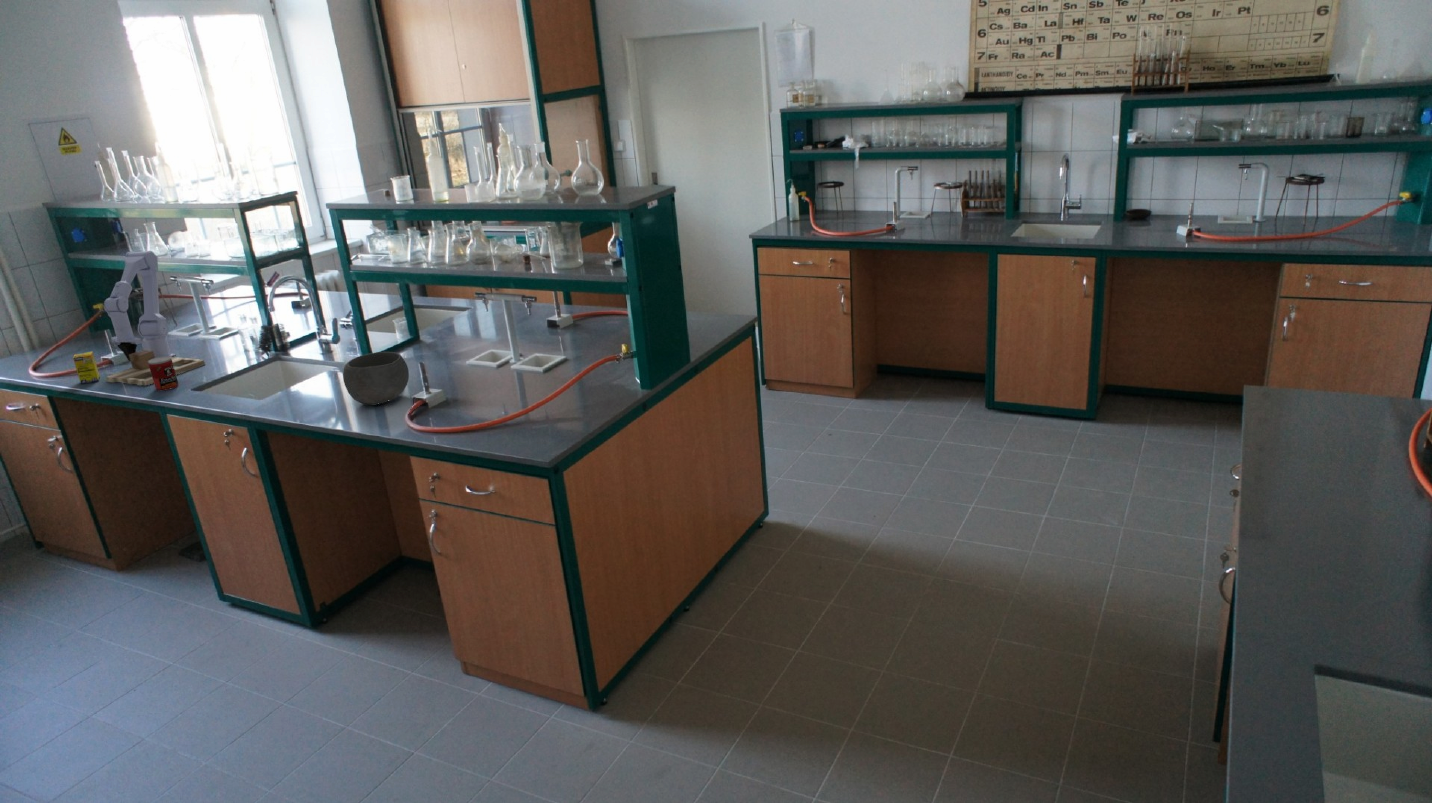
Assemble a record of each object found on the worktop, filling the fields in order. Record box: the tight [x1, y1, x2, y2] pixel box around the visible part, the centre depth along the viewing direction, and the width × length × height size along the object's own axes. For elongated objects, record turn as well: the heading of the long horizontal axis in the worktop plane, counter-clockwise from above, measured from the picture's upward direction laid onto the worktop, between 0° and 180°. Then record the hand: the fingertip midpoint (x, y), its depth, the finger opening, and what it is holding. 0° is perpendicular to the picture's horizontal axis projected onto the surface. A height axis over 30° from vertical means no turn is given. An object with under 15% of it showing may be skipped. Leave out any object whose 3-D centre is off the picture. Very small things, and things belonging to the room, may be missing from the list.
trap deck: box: [105, 356, 206, 386], centre depth 365 cm, size 22×26×2 cm
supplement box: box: [72, 351, 101, 385], centre depth 359 cm, size 6×6×11 cm
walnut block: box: [129, 349, 155, 370], centre depth 366 cm, size 6×6×6 cm
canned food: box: [148, 356, 179, 391], centre depth 346 cm, size 8×8×11 cm
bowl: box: [342, 351, 410, 406], centre depth 316 cm, size 21×21×15 cm
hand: (132, 360), depth 369 cm, fingers closed
